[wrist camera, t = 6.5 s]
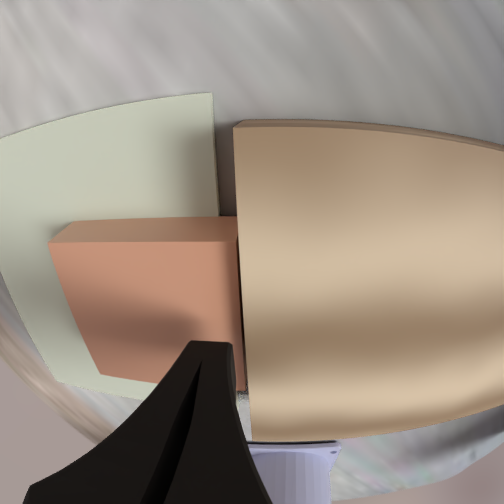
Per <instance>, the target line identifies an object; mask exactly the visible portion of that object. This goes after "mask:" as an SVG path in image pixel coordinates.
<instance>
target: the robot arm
mask: <svg viewBox="0 0 504 504" xmlns="http://www.w3.org/2000/svg"><path fill="white" fill-rule="evenodd" d="M236 381H237V380H236V371H235V362H234V353H233V345H232V344H231V343H230V342H218V341H197V340H191V341H189V342H188V343H187V345H186V346H185V348H184V349H183V351H182V352H181V354H180V355H179V357H178V358H177V360H176V361H175V362H174V364H173V365H172V366H171V368H170V369H169V371H168V372H167V373H166V374H165V376H164V377H163V378H162V380H161V381H160V382H159V383H158V385H157V386H156V387H155V388H154V390H153V391H152V392H151V393H150V394H149V396H148V397H147V398H146V399H145V400H144V401H143V402H142V403H141V405H140V406H139V407H138V408H137V409H136V410H135V411H134V412H133V413H132V414H131V415H130V416H129V417H128V418H127V419H126V420H125V421H124V422H123V423H122V424H121V425H120V426H119V427H118V428H117V429H116V430H115V431H114V432H113V433H111V434H110V435H109V436H108V437H107V438H105V439H104V440H103V441H102V442H101V443H99V444H98V445H97V446H96V447H94V448H93V449H92V450H90V451H89V452H88V453H87V454H85V455H83V456H82V457H81V458H79V459H77V460H76V461H74V462H73V463H71V464H70V465H68V466H67V467H65V468H63V469H62V470H60V471H59V472H56V473H54V474H52V475H50V476H49V477H46V478H45V479H43V480H41V481H39V482H36V483H34V484H32V485H31V486H30V487H29V489H28V491H27V493H26V496H25V499H24V501H23V504H331V488H330V471H331V469H332V467H333V465H334V463H335V461H336V459H337V457H338V455H339V452H340V450H341V444H340V443H323V444H302V445H256V444H247V441H246V438H245V435H244V432H243V429H242V425H241V422H240V418H239V414H238V410H237V406H236Z"/></svg>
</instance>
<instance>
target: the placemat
mask: <svg viewBox="0 0 504 504" xmlns="http://www.w3.org/2000/svg"><path fill="white" fill-rule="evenodd" d="M166 217H220V206H219V192H218V178H217V164H216V148H215V132H214V114H213V95H212V93H199V94H189V95H181V96H173V97H165V98H158V99H151V100H145V101H139V102H133V103H128V104H122V105H117V106H112V107H108V108H103V109H98V110H94V111H90V112H86V113H82V114H78V115H74V116H70V117H66V118H63V119H59V120H55V121H52V122H49V123H45V124H42V125H39V126H36V127H33V128H30V129H27V130H24V131H21V132H18V133H15V134H12V135H9V136H7V137H4V138H1V139H0V272H1V274H2V277H3V279H4V282H5V284H6V286H7V289H8V291H9V293H10V296H11V298H12V300H13V302H14V305H15V307H16V309H17V311H18V313H19V315H20V317H21V319H22V321H23V323H24V325H25V327H26V329H27V331H28V333H29V335H30V337H31V339H32V341H33V342H34V344H35V346H36V348H37V350H38V351H39V353H40V355H41V357H42V358H43V360H44V362H45V363H46V365H47V367H48V368H49V370H50V372H51V373H52V375H53V376H54V378H55V379H56V381H57V382H61V383H64V384H68V385H72V386H76V387H80V388H84V389H88V390H92V391H97V392H101V393H106V394H111V395H116V396H121V397H127V398H132V399H138V400H145V399H146V398H147V397H148V396H149V394H150V393H151V392H152V391H153V390H154V388H155V387H156V386H157V385H158V384H156V383H149V382H142V381H136V380H129V379H123V378H118V377H112V376H107V375H101V374H100V373H99V371H98V369H97V367H96V365H95V363H94V361H93V359H92V357H91V355H90V353H89V351H88V348H87V346H86V344H85V342H84V340H83V338H82V335H81V333H80V331H79V329H78V326H77V324H76V322H75V319H74V317H73V315H72V312H71V310H70V307H69V305H68V302H67V300H66V297H65V294H64V292H63V289H62V286H61V284H60V281H59V278H58V275H57V272H56V269H55V266H54V263H53V260H52V257H51V254H50V251H49V247H48V244H47V242H49V241H50V240H51V239H52V238H54V237H55V236H56V235H57V234H58V233H60V232H61V231H62V230H63V229H65V228H66V227H67V226H68V225H70V224H71V223H72V222H74V221H86V220H108V219H133V218H166ZM236 406H237V410H238V409H239V401H238V392H237V391H236Z"/></svg>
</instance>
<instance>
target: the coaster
mask: <svg viewBox="0 0 504 504" xmlns="http://www.w3.org/2000/svg"><path fill="white" fill-rule="evenodd" d="M47 244H48V247H49V251H50V254H51V257H52V260H53V263H54V266H55V269H56V272H57V275H58V278H59V281H60V284H61V286H62V289H63V292H64V294H65V297H66V300H67V302H68V305H69V307H70V310H71V312H72V315H73V317H74V319H75V322H76V324H77V326H78V329H79V331H80V333H81V335H82V338H83V340H84V342H85V344H86V346H87V348H88V351H89V353H90V355H91V357H92V359H93V361H94V363H95V365H96V367H97V369H98V371H99V373H100V374H101V375H107V376H112V377H118V378H123V379H129V380H136V381H142V382H149V383H156V384H158V383H159V382H160V381H161V380H162V378H163V377H164V376H165V374H166V373H167V372H168V371H169V369H170V368H171V366H172V365H173V364H174V362H175V361H176V360H177V358H178V357H179V355H180V354H181V352H182V351H183V349H184V348H185V346H186V345H187V343H188V342H189V341H191V340H197V341H218V342H230V343H231V344H232V345H233V353H234V362H235V371H236V380H237V381H236V391H246V381H247V362H246V348H245V333H244V318H243V302H242V287H241V270H240V254H239V237H238V219H237V216H222V217H166V218H133V219H108V220H86V221H74V222H72V223H71V224H70V225H68V226H67V227H66V228H65V229H63V230H62V231H61V232H60V233H58V234H57V235H56V236H55V237H54V238H52V239H51V240H50V241H49V242H47Z"/></svg>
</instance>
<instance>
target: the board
mask: <svg viewBox="0 0 504 504" xmlns="http://www.w3.org/2000/svg"><path fill="white" fill-rule="evenodd" d="M233 142H234V163H235V182H236V201H237V219H238V237H239V254H240V270H241V287H242V302H243V318H244V333H245V348H246V362H247V376H248V390H249V404H250V417H251V430H252V441H317V440H333V439H345V438H355V437H364V436H372V435H380V434H386V433H393V432H399V431H405V430H410V429H415V428H420V427H425V426H430V425H434V424H438V423H443V422H447V421H451V420H455V419H458V418H462V417H466V416H469V415H473V414H476V413H479V412H482V411H486V410H489V409H492V408H495V407H498V406H500V405H503V404H504V146H503V145H499V144H495V143H491V142H487V141H483V140H478V139H473V138H469V137H464V136H459V135H453V134H448V133H442V132H436V131H430V130H424V129H417V128H409V127H402V126H393V125H384V124H374V123H363V122H350V121H333V120H307V119H255V120H243V121H242V122H240V123H239V124H237V125H236V126H235V127H233Z"/></svg>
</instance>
